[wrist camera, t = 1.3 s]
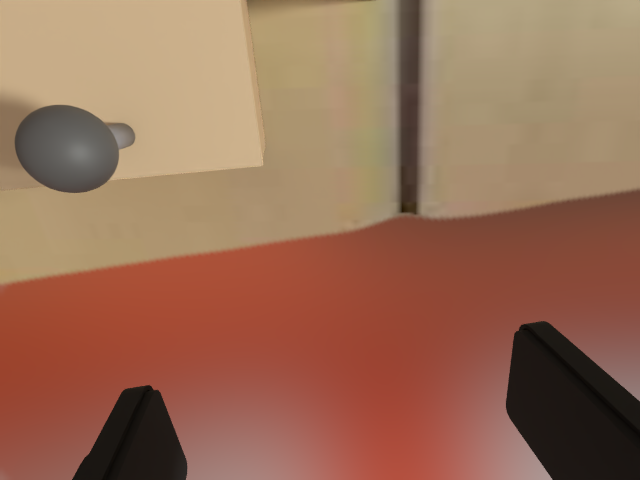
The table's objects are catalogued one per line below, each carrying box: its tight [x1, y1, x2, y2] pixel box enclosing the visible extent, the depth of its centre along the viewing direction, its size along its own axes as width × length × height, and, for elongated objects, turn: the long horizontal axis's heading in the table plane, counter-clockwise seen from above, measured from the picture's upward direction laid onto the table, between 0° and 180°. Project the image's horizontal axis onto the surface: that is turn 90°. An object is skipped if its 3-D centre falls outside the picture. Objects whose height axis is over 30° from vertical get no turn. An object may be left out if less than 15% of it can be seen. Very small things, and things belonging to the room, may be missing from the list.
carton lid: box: [0, 0, 263, 193], centre depth 18 cm, size 20×18×10 cm
